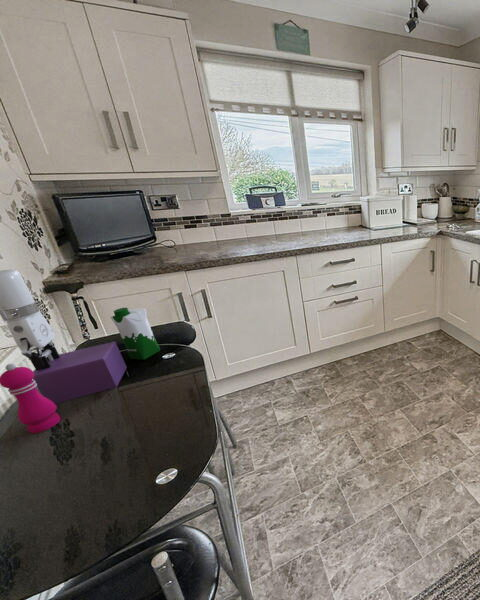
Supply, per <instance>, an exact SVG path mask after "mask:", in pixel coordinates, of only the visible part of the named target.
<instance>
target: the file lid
mask: <svg viewBox="0 0 480 600" xmlns="http://www.w3.org/2000/svg"><path fill="white" fill-rule="evenodd" d="M115 344H117V342H116V341H115V340H114V341H110V342H106V343H102V344H98V345H92V346H89V347H85V348H80V349H76V350H72V351H68V352H63V353H58V354H59V356H60V357H59V358H58V359H53V358H52V356H51V350H45V351H44V352H43V353H42V354H43V356H46V357H48V359H49V361H48V362H49V364H50V366H51V367H50V368H47V369H43V370H39V371H37V370H36V369H35V368H34V369H33V370H32V371H33V373H34V378H36V377H40V376H44V375H48V374H52V373H56V372H60V371H64V370H68V369H72V368H76V367H80V366H84V365H88V364H92V363H96V362H100V361H104V360H105V359H106V357H107V356H108V354H109V353H110V351H111V350H112V348H113V347H114V345H115Z"/></svg>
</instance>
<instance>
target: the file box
mask: <svg viewBox="0 0 480 600" xmlns="http://www.w3.org/2000/svg"><path fill="white" fill-rule="evenodd" d="M127 368H128V366H127V364H126V362H125V360H124V358H123V356H122V353H121V351H120V349H119V347H118V345H117V343H116V344H115V345H114V347H113V348H112V350H111V351H110V353H109V354H108V356H107V357H106V359H105V360H104V361H100V362H96V363H92V364H88V365H84V366H80V367H76V368H72V369H68V370H64V371H60V372H56V373H52V374H48V375H44V376H40V377H36V378H33V380H35V383H37V386H36V388H37V390H38V391H39V393H40V394H41V395H42V396H44V397H46V398H48V399H50V400H51V401H52V402H54V403H55V405H57V404H60V403H65V402H67V401H72V400H75V399H78V397H79V398H81V397H85V395H86V396H89V395H93V394H96V392H97V393H100V392H104V391H107V390H110V389H114V388H118V385H119V384H120V381H121V380H122V377H123V376H124V374H125V372H126V370H127ZM92 393H93V394H92Z"/></svg>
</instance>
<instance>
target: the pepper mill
mask: <svg viewBox="0 0 480 600" xmlns="http://www.w3.org/2000/svg"><path fill="white" fill-rule="evenodd" d="M4 369H5V371H4V372H3V373H2V374H0V386H1V387H3V388H5V389H7V392H8V393H9V395H11V396H13V397H15V399H16V400H17V403H18V408H17V419H18V421H19V423H21V424H23V425H26V429H27V431H28V432H29V433H31V434H37V433H38V434H39V433H42V432H45V431H47V430H49V429H51V428H53V427H54V426H56V425H57V424H59V422H60V421H61V417H60V414H59V413H58V412H57V409H58V407H57V404H55V403H54V402H52V401H51V400H50V399H48V398H46V397H44V396H43V395H42V394H41V392H40V391H39V390H38V388H37V383H35V380H33V378H34V373H33V371H34V370H32V369H31V368H29V367H26V366H16V364H15V363H8V364H7V365H5V367H4Z"/></svg>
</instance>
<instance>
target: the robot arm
mask: <svg viewBox="0 0 480 600" xmlns="http://www.w3.org/2000/svg"><path fill="white" fill-rule="evenodd" d="M0 317H1V319H2V320H3V322H6V324H7V327H8V329H9V331H10V334H11V336H12V338H13V340H14V342H15V344H16V345H17V347H18V349H19V350H20V351H21V355H22V356H24V357H26V358H28V360H29V361H30V362H31V363H32V365H33V367H34V370H35V369H36V370H37V371H39V370H43V369H47V368H50V367H51V366H50V364H49V362H48V361H49V359H48V357H46V356H43V354H42V353H43V352H44V351H45V350H51V356H52V358H53V359H58V358H59V357H60V356H59V354H60V353H59V352H58V350H57V348H56V347H55V343H54V342H53V340H54V339H55V337H56V334H55V332H54V331H53V329H52V327H51V326H50V324H49V322H48V321H47V319H46V318H45V316H44V315H43V314H42V312H41V310H40V308H39V307H38V305H37V302H36V301H35V298H34V297H33V295H32V293H31V291H30V290H29V288H28V286H27V284H26V281H25V280H24V277H23V275H22V274H21V273H20V271H18V270H16V269H1V270H0Z"/></svg>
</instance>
